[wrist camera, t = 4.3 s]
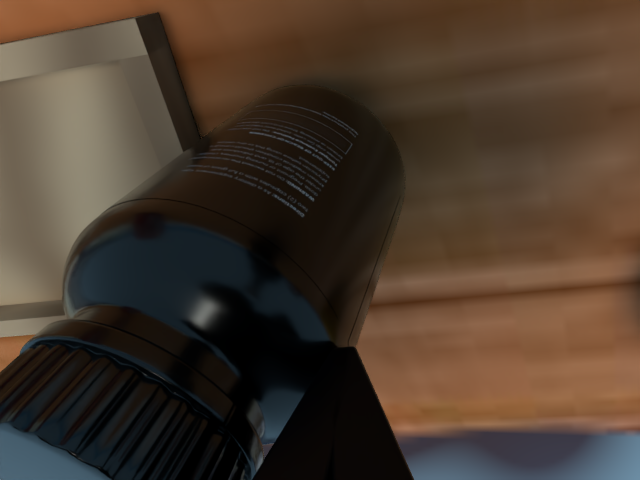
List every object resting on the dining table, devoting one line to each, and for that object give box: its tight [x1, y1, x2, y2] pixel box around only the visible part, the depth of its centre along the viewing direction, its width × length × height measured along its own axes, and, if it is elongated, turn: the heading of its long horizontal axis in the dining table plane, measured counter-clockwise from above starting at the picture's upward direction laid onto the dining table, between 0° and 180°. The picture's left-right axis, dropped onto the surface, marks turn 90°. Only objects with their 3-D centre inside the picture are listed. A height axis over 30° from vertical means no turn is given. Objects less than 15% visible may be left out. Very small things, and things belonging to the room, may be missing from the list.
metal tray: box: [0, 13, 200, 337], centre depth 18 cm, size 16×12×2 cm
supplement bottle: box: [0, 85, 405, 480], centre depth 11 cm, size 7×7×12 cm
